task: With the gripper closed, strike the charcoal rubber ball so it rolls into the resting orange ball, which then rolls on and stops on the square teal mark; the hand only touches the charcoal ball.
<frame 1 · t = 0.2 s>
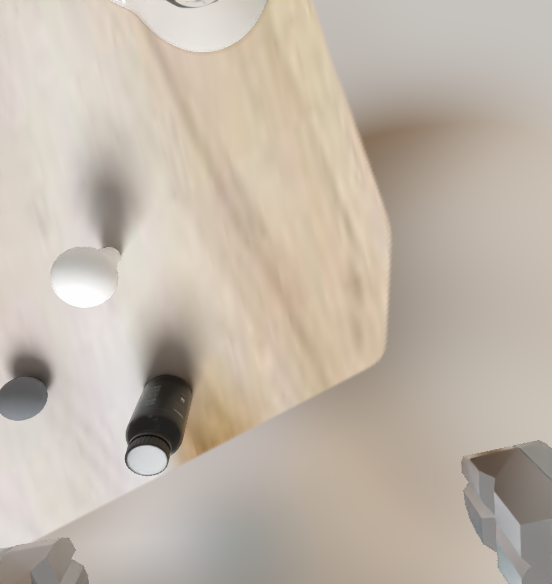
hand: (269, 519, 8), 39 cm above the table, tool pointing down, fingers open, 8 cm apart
lightbulb: (113, 254, 45), on the table
charcoal ball: (22, 398, 48), on the table
supplement bottle: (168, 392, 53), on the table
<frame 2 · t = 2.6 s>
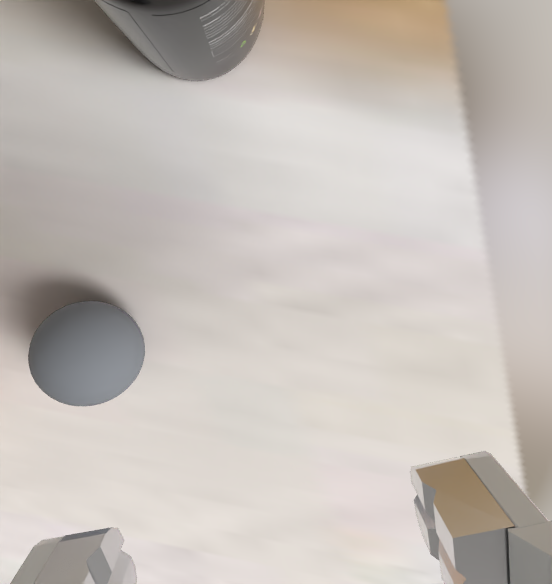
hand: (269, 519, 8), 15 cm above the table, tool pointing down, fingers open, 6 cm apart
charcoal ball: (90, 352, 20), on the table
supplement bottle: (195, 7, 18), on the table
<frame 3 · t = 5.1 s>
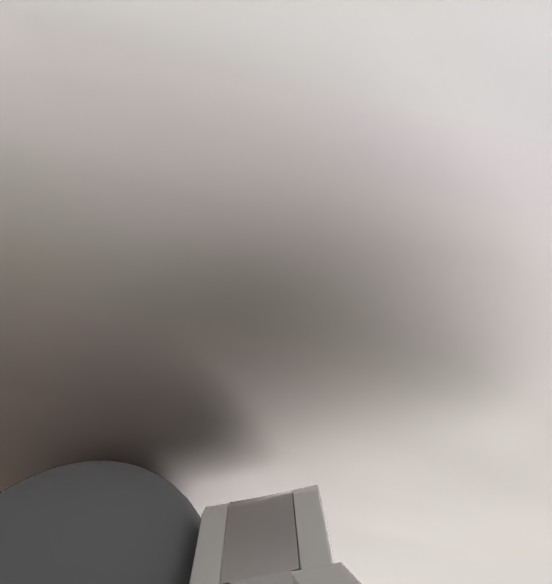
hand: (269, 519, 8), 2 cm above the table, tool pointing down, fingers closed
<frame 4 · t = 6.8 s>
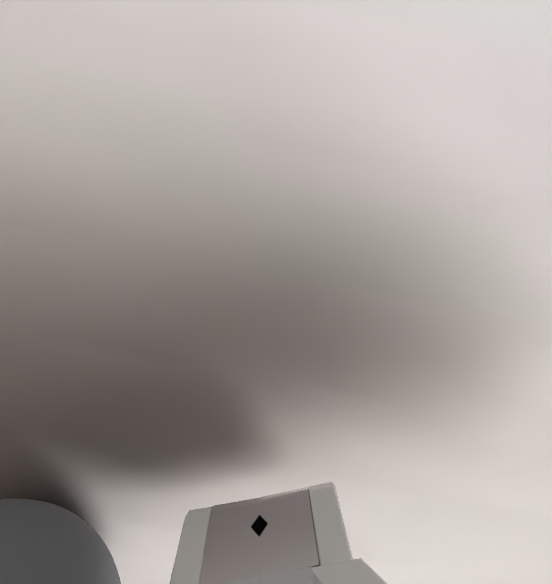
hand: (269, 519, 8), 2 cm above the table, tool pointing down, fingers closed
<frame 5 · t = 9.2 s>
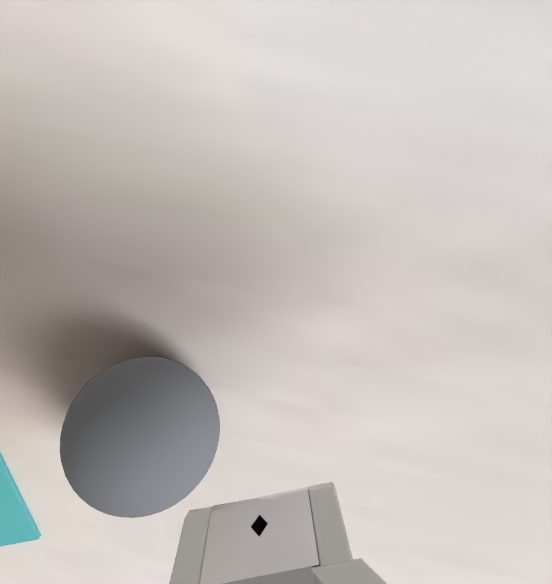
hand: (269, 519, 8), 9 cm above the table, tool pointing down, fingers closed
charcoal ball: (145, 431, 14), on the table
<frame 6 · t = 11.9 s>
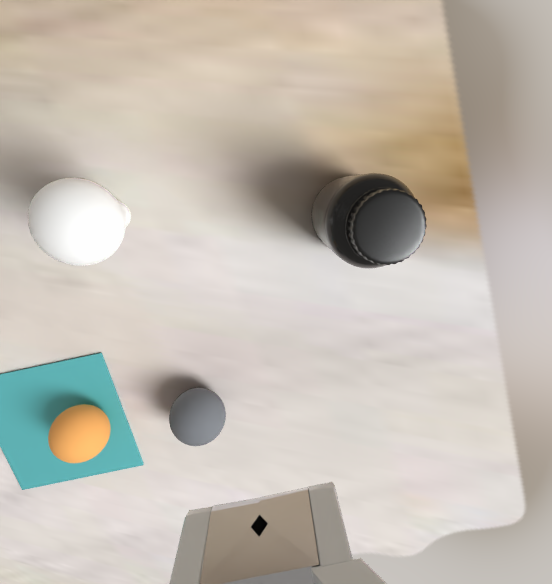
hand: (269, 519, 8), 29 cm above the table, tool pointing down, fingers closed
teal mark: (60, 424, 40), on the table
orange ball: (80, 432, 37), on the table
lightbulb: (120, 214, 34), on the table
charcoal ball: (197, 416, 37), on the table
supplement bottle: (346, 213, 35), on the table
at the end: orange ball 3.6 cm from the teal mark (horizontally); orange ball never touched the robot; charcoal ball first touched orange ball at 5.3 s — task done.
